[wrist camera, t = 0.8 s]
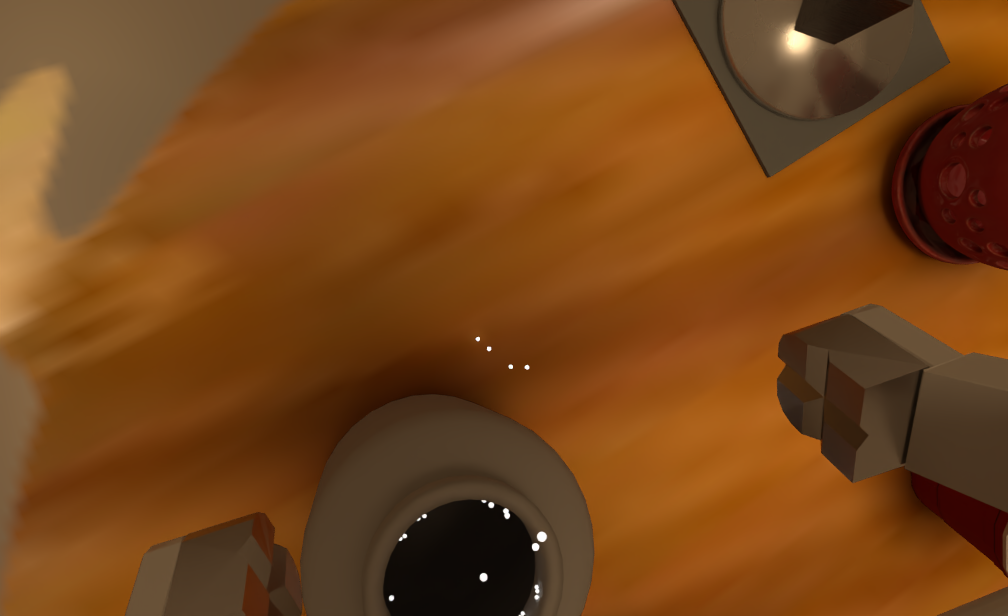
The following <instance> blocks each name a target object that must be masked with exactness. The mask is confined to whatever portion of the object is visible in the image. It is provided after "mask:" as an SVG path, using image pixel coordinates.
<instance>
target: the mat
mask: <svg viewBox="0 0 1008 616" xmlns="http://www.w3.org/2000/svg"><path fill="white" fill-rule="evenodd" d="M672 1H673V3H674V4H675V6H676V8H677V10H678V12H679V14H680V16H681V17H682V19H683V21H684V23H685V25H686V27H687V29H688V30H689V32H690V34H691V36H692V38H693V40H694V42H695V44H696V45H697V47H698V49H699V51H700V53H701V55H702V57H703V58H704V60H705V62H706V64H707V66H708V68H709V70H710V71H711V73H712V75H713V77H714V79H715V81H716V83H717V85H718V86H719V88H720V90H721V92H722V94H723V96H724V98H725V99H726V101H727V103H728V105H729V107H730V109H731V111H732V112H733V114H734V116H735V118H736V120H737V122H738V124H739V126H740V127H741V129H742V131H743V133H744V135H745V137H746V139H747V140H748V142H749V144H750V146H751V148H752V150H753V152H754V153H755V155H756V157H757V159H758V161H759V163H760V165H761V167H762V168H763V170H764V172H765V174H766V176H767V178H768V177H771V176H773V175H774V174H776V173H777V172H779V171H781V170H782V169H784V168H785V167H787V166H788V165H790V164H792V163H793V162H795V161H796V160H798V159H799V158H801V157H803V156H804V155H806V154H807V153H809V152H810V151H812V150H814V149H815V148H817V147H818V146H820V145H821V144H823V143H825V142H826V141H828V140H829V139H831V138H832V137H834V136H836V135H837V134H839V133H840V132H842V131H843V130H845V129H847V128H848V127H850V126H851V125H853V124H854V123H856V122H858V121H859V120H861V119H862V118H864V117H865V116H867V115H868V114H870V113H872V112H873V111H875V110H876V109H878V108H879V107H881V106H883V105H884V104H886V103H887V102H889V101H890V100H892V99H894V98H895V97H897V96H898V95H900V94H901V93H903V92H905V91H906V90H908V89H909V88H911V87H912V86H914V85H916V84H917V83H919V82H920V81H922V80H923V79H925V78H927V77H928V76H930V75H931V74H933V73H934V72H936V71H938V70H939V69H941V68H942V67H944V66H945V65H947V64H949V63H950V61H949V59H948V57H947V55H946V53H945V51H944V49H943V47H942V45H941V42H940V40H939V38H938V36H937V34H936V32H935V30H934V28H933V26H932V23H931V21H930V19H929V17H928V15H927V13H926V11H925V9H924V7H923V4H922V2H921V0H914V24H913V31H912V36H911V40H910V44H909V47H908V50H907V52H906V55H905V58H904V60H903V62H902V64H901V66H900V67H899V69H898V71H897V73H896V74H895V75H894V77H893V78H892V80H891V81H890V82H889V83H888V85H887V86H886V87H885V88H884V89H883V90H882V91H881V92H880V93H879V94H878V95H876V96H875V97H874V98H873V99H872V100H870V101H869V102H867V103H866V104H864V105H863V106H861V107H859V108H857V109H855V110H853V111H851V112H848V113H845V114H841V115H838V116H835V117H832V118H829V119H824V120H818V121H799V120H792V119H788V118H784V117H780V116H778V115H776V114H773V113H771V112H769V111H767V110H766V109H764V108H762V107H761V106H759V105H758V104H757V103H755V102H754V101H753V100H752V99H750V98H749V97H748V96H747V95H746V94H745V93H744V92H743V90H742V89H741V88H740V87H739V85H738V84H737V83H736V81H735V80H734V79H733V77H732V75H731V73H730V71H729V69H728V68H727V65H726V63H725V60H724V58H723V55H722V51H721V47H720V43H719V37H718V29H717V13H718V4H719V0H672Z"/></svg>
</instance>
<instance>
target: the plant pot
mask: <svg viewBox="0 0 1008 616" xmlns="http://www.w3.org/2000/svg"><path fill="white" fill-rule="evenodd" d="M892 202H893V207H894V211H895V214H896V217H897V219H898V222H899V224H900V226H901V228H902V229H903V231H904V233H905V234H906V235H907V237H908V238H909V239H910V240H911V241H912V243H913V244H914V245H915V246H916V247H917V248H919V249H920V250H921V251H922V252H924V253H925V254H927V255H929V256H930V257H932V258H935V259H937V260H939V261H943V262H947V263H952V264H973V263H979V262H981V263H984V264H987V265H990V266H993V267H996V268H1000V269H1004V270H1008V84H1006V85H1004V86H1002V87H1000V88H998V89H996V90H994V91H992V92H990V93H988V94H986V95H985V96H983V97H981V98H979V99H978V100H976V101H975V102H973V103H972V104H967V105H959V106H955V107H951V108H948V109H946V110H943V111H941V112H939V113H937V114H935V115H934V116H932V117H930V118H929V119H928V120H926V121H925V122H924V123H923V124H922V125H921V126H919V127H918V128H917V129H916V131H915V132H914V133H913V134H912V135H911V136H910V138H909V139H908V140H907V142H906V144H905V145H904V147H903V149H902V151H901V153H900V155H899V157H898V160H897V163H896V166H895V169H894V174H893V179H892Z"/></svg>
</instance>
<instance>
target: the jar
mask: <svg viewBox="0 0 1008 616" xmlns="http://www.w3.org/2000/svg"><path fill="white" fill-rule="evenodd" d="M476 340H477V341H479V340H480V338H479V337H477V338H476ZM487 350H488V351H490V350H491V347H488V348H487ZM509 368H510V369H512V368H513V366H512V365H509ZM525 369H529V366H528V365H526V366H525ZM593 561H594V543H593V529H592V523H591V519H590V515H589V512H588V508H587V504H586V500H585V498H584V495H583V493H582V491H581V489H580V487H579V485H578V483H577V481H576V479H575V477H574V475H573V473H572V472H571V471H570V469H569V468H568V467H567V465H566V464H565V463H564V461H563V460H562V459H561V458H560V456H559V455H558V454H557V452H556V451H555V450H554V449H553V448H552V447H550V446H549V445H548V444H547V443H546V442H545V441H544V440H542V439H541V438H540V437H539V436H538V435H537V434H536V433H534V432H533V431H532V430H530V429H528V428H526V427H525V426H523V425H521V424H519V423H517V422H516V421H514V420H512V419H510V418H508V417H506V416H503V415H501V414H499V413H496V412H494V411H492V410H489V409H487V408H484V407H482V406H480V405H477V404H475V403H473V402H469V401H466V400H463V399H460V398H457V397H454V396H446V395H437V394H428V395H416V396H409V397H406V398H403V399H399V400H396V401H392V402H390V403H388V404H386V405H384V406H382V407H380V408H378V409H376V410H374V411H372V412H370V413H369V414H368V415H366V416H365V417H364V418H363V419H361V420H360V421H359V422H357V423H356V424H355V425H354V426H353V427H352V428H351V429H350V430H349V431H348V432H347V433H346V435H345V436H344V437H343V438H342V439H341V440H340V441H339V442H338V444H337V446H336V447H335V449H334V451H333V452H332V454H331V456H330V457H329V459H328V461H327V463H326V465H325V468H324V471H323V474H322V476H321V479H320V482H319V485H318V488H317V492H316V495H315V498H314V502H313V505H312V508H311V512H310V515H309V518H308V522H307V525H306V529H305V533H304V540H303V547H302V553H301V560H300V565H301V585H302V598H303V602H304V606H305V610H306V614H307V616H580V615H581V613H582V611H583V609H584V606H585V602H586V599H587V595H588V592H589V588H590V585H591V580H592V571H593Z"/></svg>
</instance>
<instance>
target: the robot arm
mask: <svg viewBox="0 0 1008 616" xmlns="http://www.w3.org/2000/svg"><path fill="white" fill-rule="evenodd" d="M778 357H779V358H780V359H781V360H782V361H783V362H784V363H785V364H786V366H785V367H784V369H783V371H782V372H781V374H780V375H779V377H778V378H777V396H778V398H779V401H780V404H781V407H782V410H783V412H784V413H785V415H786V416H787V418H788V419H789V421H790V422H791V424H792V425H793V426H794V427H795V428H796V429H797V430H798V431H799V432H800V433H801V434H804V435H807V436H810V437H813V438H815V439H818V440H820V441H821V453H822V454H823V455H824V456H825V457H826V458H827V459H828V460H829V461H830V462H831V463H832V464H833V465H834V466H835V467H836V468H837V469H838V470H840V471H841V472H842V473H843V474H844V475H845V476H846V477H847V478H848V479H849V480H850V481H851V482H852V483H854V482H857V481H860V480H863V479H866V478H869V477H872V476H875V475H878V474H881V473H884V472H887V471H890V470H893V469H896V468H899V467H901V466H904V465H905V469H907V470H909V471H912V472H914V473H916V474H919V475H921V476H923V477H926V478H928V479H930V480H933V481H935V482H937V483H940V484H942V485H944V486H947V487H949V488H951V489H954V490H956V491H958V492H961V493H963V494H965V495H968V496H970V497H972V498H975V499H977V500H979V501H982V502H984V503H986V504H989V505H991V506H993V507H996V508H998V509H1000V510H1002V511H1005V512H1007V513H1008V359H1003V358H998V357H993V356H988V355H983V354H978V353H971V354H968V355H965V356H964V355H962V354H961V353H959V352H957V351H956V350H954V349H952V348H951V347H949V346H947V345H946V344H944V343H942V342H941V341H939V340H937V339H936V338H934V337H932V336H931V335H929V334H927V333H926V332H924V331H922V330H921V329H919V328H917V327H916V326H914V325H912V324H911V323H909V322H907V321H906V320H904V319H902V318H901V317H899V316H897V315H896V314H894V313H892V312H891V311H889V310H887V309H886V308H884V307H882V306H879V305H874V304H868V305H866V306H863V307H860V308H857V309H854V310H852V311H849V312H846V313H843V314H841V315H840V316H836V317H833V318H830V319H827V320H824V321H822V322H819V323H816V324H813V325H810V326H807V327H804V328H801V329H798V330H796V331H793V332H790V333H787V334H784V335H783V336H782V338H781V340H780V342H779V348H778ZM274 533H275V528H274V526H273V525H272V523H271V522H270V520H269V519H268V517H267V516H266V514H265V513H261V512H257V513H253V514H250V515H247V516H244V517H241V518H237V519H234V520H231V521H228V522H225V523H221V524H218V525H215V526H212V527H209V528H205V529H202V530H199V531H196V532H193V533H189V534H188V535H186V536H182V537H179V538H176V539H173V540H170V541H166V542H163V543H160V544H157V545H153V546H151V547H150V549H149V550H148V551H147V552H146V553H145V554H144V556H143V558H142V562H141V565H140V568H139V571H138V575H137V578H136V581H135V584H134V588H133V591H132V594H131V597H130V600H129V604H128V607H127V610H126V613H125V616H301V614H302V591H301V585H300V579H299V574H298V571H297V568H296V565H295V563H294V560H293V558H292V556H291V555H290V553H289V551H288V549H287V548H284V547H282V546H279V545H277V544H274ZM937 616H1008V587H1006V588H1003V589H1001V590H998V591H996V592H993V593H991V594H988V595H986V596H983V597H981V598H979V599H976V600H974V601H971V602H969V603H966V604H964V605H961V606H959V607H956V608H954V609H952V610H949V611H947V612H944V613H942V614H939V615H937Z"/></svg>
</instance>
